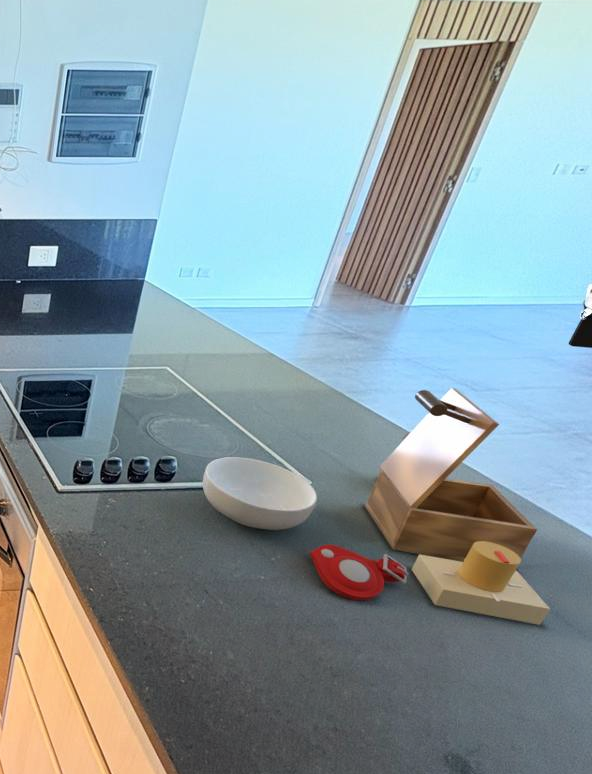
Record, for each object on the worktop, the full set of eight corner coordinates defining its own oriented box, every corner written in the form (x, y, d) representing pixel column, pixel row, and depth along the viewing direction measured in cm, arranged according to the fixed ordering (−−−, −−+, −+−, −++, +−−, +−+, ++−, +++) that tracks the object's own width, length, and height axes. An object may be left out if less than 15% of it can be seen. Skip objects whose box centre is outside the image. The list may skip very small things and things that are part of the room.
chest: (472, 523, 105) (492, 485, 102) (513, 570, 95) (537, 529, 91) (365, 506, 110) (380, 469, 106) (393, 549, 99) (411, 510, 96)
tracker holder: (363, 605, 87) (300, 552, 93) (349, 620, 90) (289, 567, 96) (423, 569, 89) (358, 519, 96) (408, 584, 92) (346, 535, 99)
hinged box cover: (456, 389, 98) (415, 374, 99) (499, 424, 87) (453, 406, 88) (384, 468, 106) (347, 453, 107) (415, 508, 95) (374, 492, 96)
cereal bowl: (316, 555, 98) (330, 519, 95) (201, 533, 103) (211, 498, 100) (292, 497, 112) (304, 464, 109) (192, 481, 118) (200, 449, 114)
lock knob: (451, 565, 91) (466, 536, 89) (493, 572, 90) (509, 543, 88) (468, 587, 87) (485, 558, 85) (512, 595, 86) (530, 565, 83)
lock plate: (505, 583, 92) (515, 567, 91) (542, 628, 84) (553, 611, 83) (409, 567, 96) (417, 550, 94) (436, 608, 88) (445, 591, 86)
